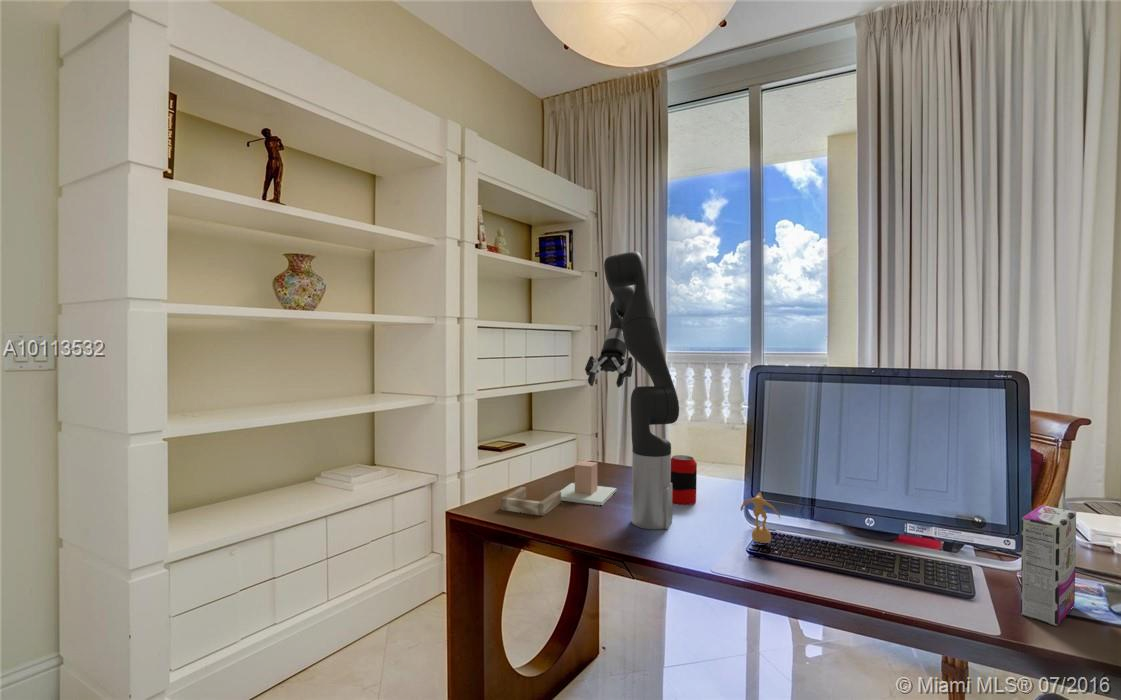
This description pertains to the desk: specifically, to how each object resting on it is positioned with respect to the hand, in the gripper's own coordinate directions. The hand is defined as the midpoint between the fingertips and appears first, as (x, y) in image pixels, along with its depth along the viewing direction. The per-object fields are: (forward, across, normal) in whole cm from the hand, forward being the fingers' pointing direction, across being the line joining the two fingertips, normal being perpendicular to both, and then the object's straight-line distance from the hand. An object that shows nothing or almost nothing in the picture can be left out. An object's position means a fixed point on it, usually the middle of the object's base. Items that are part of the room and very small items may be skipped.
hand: (604, 384), depth 160 cm
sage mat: (+29, -2, +14) cm, 32 cm away
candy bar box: (+50, +90, -7) cm, 104 cm away
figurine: (+43, +45, 0) cm, 62 cm away
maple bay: (+40, -12, +4) cm, 41 cm away
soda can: (+25, +24, +19) cm, 39 cm away
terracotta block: (+28, -2, +14) cm, 31 cm away
